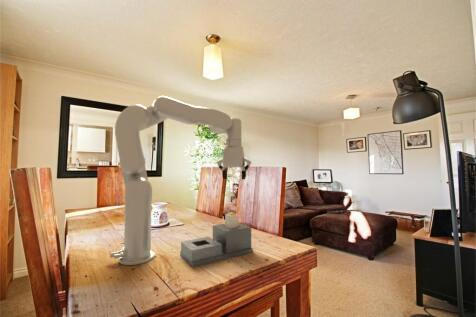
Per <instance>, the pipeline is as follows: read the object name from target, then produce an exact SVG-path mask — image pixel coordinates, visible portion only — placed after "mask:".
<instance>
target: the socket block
mask: <svg viewBox="0 0 476 317" xmlns="http://www.w3.org/2000/svg"><path fill="white" fill-rule="evenodd" d="M179 252H180V254H179V255H180V257H182V259H183V260H184V261H186V262H187V263H188V264H189V266H191V268H196V267H200V266H204V265H209V264H213V263H217V262H220V261H224V260H229V259H232V258H235V257H241V256H244V255H247V254H252V253H254V249H253V248H252V226H249V225H247V224H244V223H241V222H238V227H236V228H230V229H229V228H227V227H225V223H221V224H220V223H219V224H213V225H212V237H210V236H204V237H199V238H193V239H188V240H184V241H181V242H180V251H179Z"/></svg>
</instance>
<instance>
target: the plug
mask: <svg viewBox="0 0 476 317" xmlns="http://www.w3.org/2000/svg"><path fill="white" fill-rule="evenodd" d="M224 219H225V220H224V224H225V227H227V228H229V229H230V228H236V227H238V223H239V215H238V214H237V213H236V212H227V213H225V214H224Z"/></svg>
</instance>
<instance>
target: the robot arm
mask: <svg viewBox="0 0 476 317" xmlns="http://www.w3.org/2000/svg"><path fill="white" fill-rule="evenodd" d="M168 119H169V120H174V121H175V122H180V123H182V124H187V125H206V126H207V125H208V128H209V130H210V131H211V132H212V133H213V134H215V135H217V134H226V136H225V139H226V140H225V141H224V142H223V145H224V148H223V154H222V159H221V160H219V161H217V162H216V164H217V166H218V167H219V169H220V170H221V176H222V180H227V179H228V175H227V174H228V171H227V169H228V168H241V180H246V177H247V171H248V169H249V168H250V167H251V164H252V161H250V160H249V159H247V158H245V151H244V147H243V146H242V144H243V143H242V120H241V119H240V118H237V117H231V116H230V115H229V114H227V113H226V112H223V111H219V109H218V110H217V109H215V108H211V107H204V106H195V105H192V104H188V103H186V102H183V101H180V100H177V99H176V98H175V99H174V98H172V97H168V96H165V95H161V96H158V97H157V98H156V99H155V100H154V101H153V103H152V104H151V105H149V106H147V107H145V106H143V105H142V104H137V103H136V104H132V105H130V106H127V107H126V108H124V109H123V110H122V111H121V112H120V113H119V115H118V117H117V118H116V121H115V126H114V134H115V135H114V136H115V141H116V146H117V153H118V158H119V166H120V167H119V168H120V170H121V175H122V181H123V185H124V226H123V227H124V232H123V233H124V237H123V238H124V239H123V240H124V241H123V243H124V244H123V246H122V249H120V250H118V251H112V252H109V258H110V259H112V258H114V259H118V262H119V264H121V265H124V266H134V265H135V266H136V265H140V264H145V263H147V262H150V261H152V260H153V259H154V258H155V256H156V253H155V252H154V251H153V250H152V199H153V187H152V184H151V182H150V181H149V180H148V174H147V169H146V158H145V156H144V152H143V148H142V143H141V142H142V141H141V136H140V132H142V131H145V130H146V129H149V128H151V127H153V126H155V125H158V124H160V123H162V122H164V121H166V120H168ZM245 163H246V164H245Z"/></svg>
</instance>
